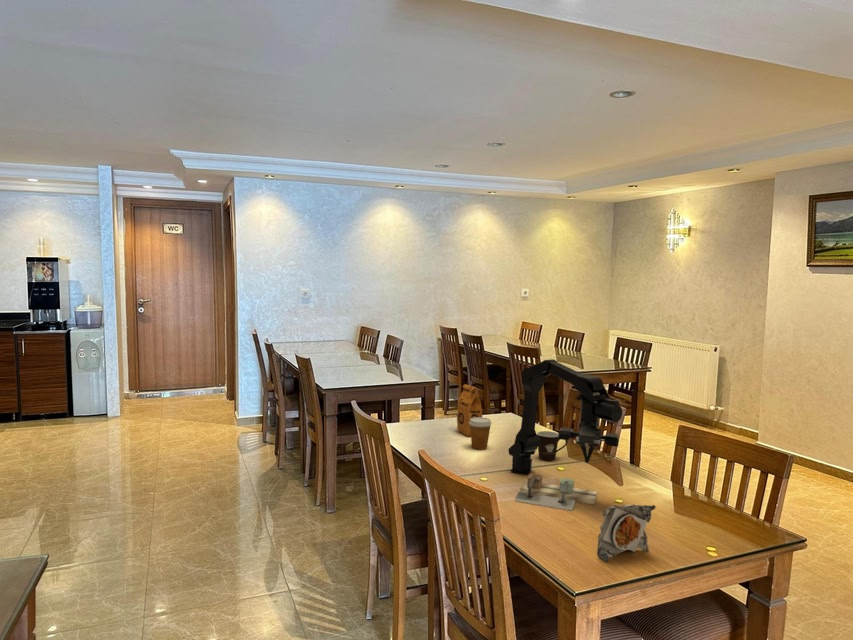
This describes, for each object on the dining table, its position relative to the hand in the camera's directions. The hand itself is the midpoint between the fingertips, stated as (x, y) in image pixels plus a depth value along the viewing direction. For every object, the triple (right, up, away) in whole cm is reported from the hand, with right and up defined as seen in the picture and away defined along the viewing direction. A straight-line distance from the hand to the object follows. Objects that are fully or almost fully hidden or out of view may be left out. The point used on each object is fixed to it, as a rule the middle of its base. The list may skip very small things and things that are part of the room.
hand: (587, 462), depth 184 cm
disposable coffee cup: (-30, -7, +52) cm, 61 cm away
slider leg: (-7, -10, -1) cm, 13 cm away
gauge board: (-10, -12, +1) cm, 15 cm away
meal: (-1, -15, -37) cm, 40 cm away
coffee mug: (-3, -9, +40) cm, 41 cm away
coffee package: (-33, -6, +73) cm, 81 cm away
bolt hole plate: (-15, -12, -4) cm, 19 cm away
